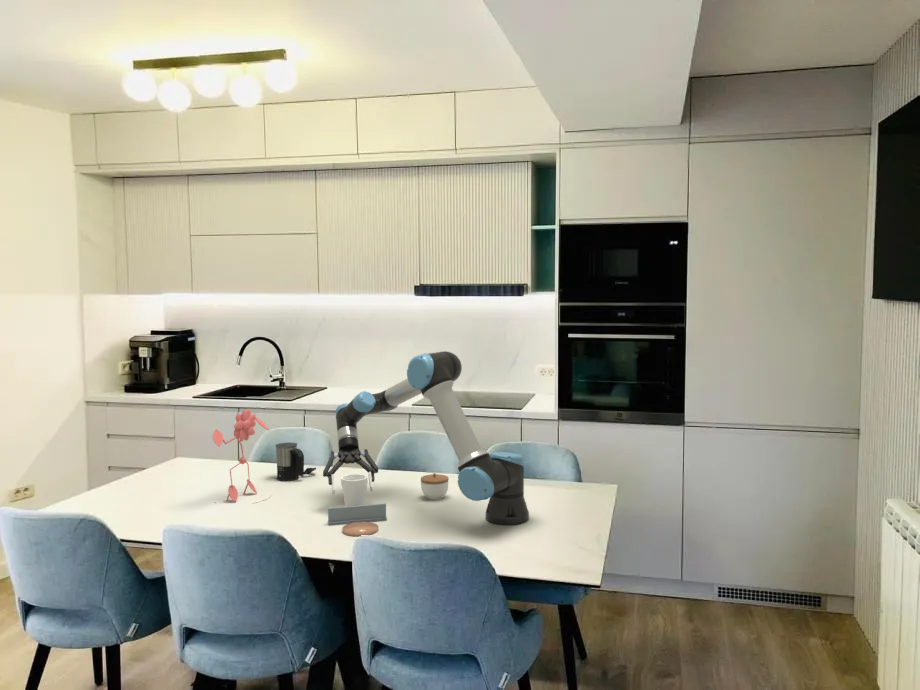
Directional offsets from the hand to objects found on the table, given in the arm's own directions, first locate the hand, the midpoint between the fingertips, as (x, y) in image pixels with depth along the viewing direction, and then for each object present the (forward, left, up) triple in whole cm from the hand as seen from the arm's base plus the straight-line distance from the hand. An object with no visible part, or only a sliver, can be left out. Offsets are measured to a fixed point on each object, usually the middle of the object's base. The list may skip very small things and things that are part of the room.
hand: (352, 490), depth 273 cm
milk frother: (+55, -20, -8) cm, 59 cm away
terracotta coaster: (-17, +13, -8) cm, 23 cm away
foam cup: (-1, 0, -8) cm, 8 cm away
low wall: (-9, +7, -8) cm, 14 cm away
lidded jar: (-13, -31, -8) cm, 35 cm away
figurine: (+45, +12, -8) cm, 47 cm away
